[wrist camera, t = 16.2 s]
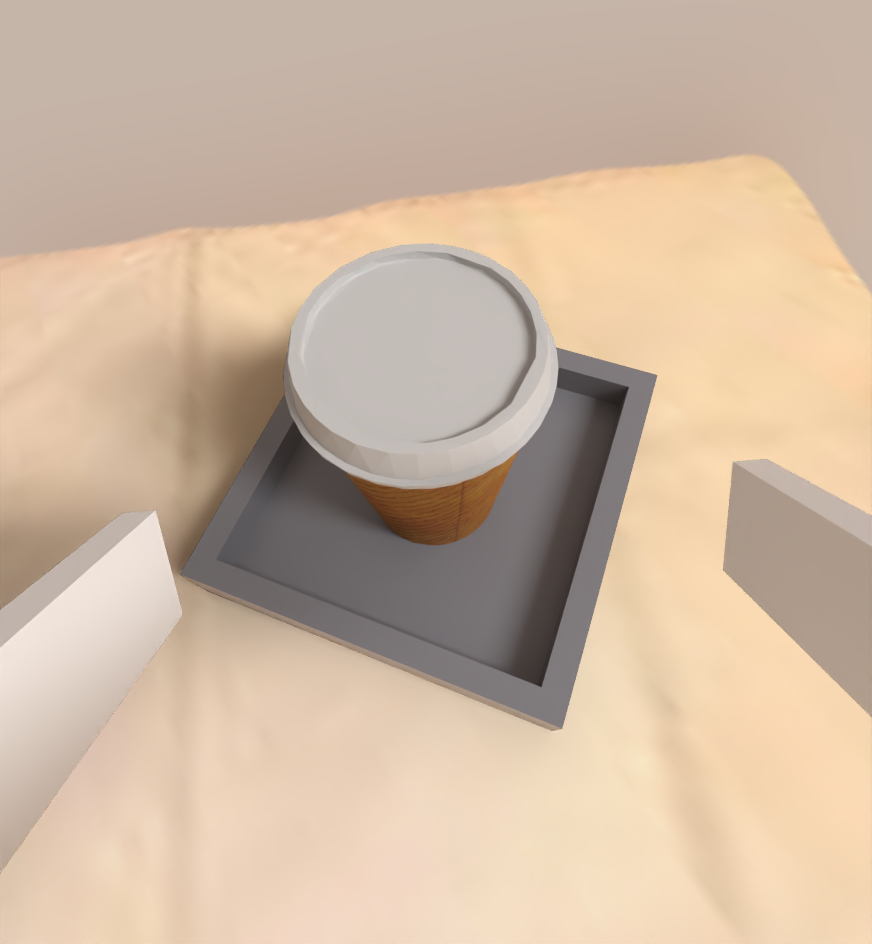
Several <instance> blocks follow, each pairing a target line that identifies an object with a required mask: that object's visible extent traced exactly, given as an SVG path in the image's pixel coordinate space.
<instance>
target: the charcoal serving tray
mask: <svg viewBox="0 0 872 944" xmlns="http://www.w3.org/2000/svg"><path fill="white" fill-rule="evenodd" d="M556 350H557V359H558V377H557V386H556V390H555V394H554V398H553V401H552V404H551V406H550V408H549V410H548V412H547V414H546V416H545V418H544V420H543V422H542V423H541V425H540V427H539V428H538V430H537V431H536V432H535V433H534V435H533V436H532V437H531V438H530V440H529V441H528V442H527V443H526V444H525V445H524V446H523V447H522V448H521V449H519V451H518V453H517V455H516V457H515V459H514V461H513V463H512V466H511V468H510V470H509V472H508V474H507V476H506V478H505V481H504V483H503V485H502V487H501V489H500V491H499V493H498V496H497V498H496V500H495V502H494V504H493V507H492V509H491V511H490V513H489V515H488V517H487V518H486V519H485V521H484V522H483V524H482V525H481V526H480V527H479V528H477V529H476V530H475V531H474V532H473V533H471V534H470V535H468V536H467V537H465V538H463V539H460V540H458V541H455V542H453V543H449V544H444V545H424V544H419V543H414V542H411V541H409V540H407V539H404V538H402V537H401V536H399V535H398V534H396V533H395V532H393V531H392V530H391V529H390V528H389V527H388V526H387V525H386V523H385V522H384V521H383V519H382V518H381V516H380V515H379V514H378V513H377V512H376V510H375V509H374V508H373V507H372V505H371V504H370V503H369V501H368V500H367V499H366V498H365V496H364V495H363V494H362V493H361V491H360V490H359V489H358V488H357V486H356V485H355V484H354V482H353V481H352V480H351V479H350V478H349V476H348V475H347V474H346V472H345V471H344V470H342V469H340V468H339V467H337V466H336V465H334V464H332V463H331V462H329V461H328V460H326V459H324V458H323V457H322V456H321V455H320V454H319V453H318V452H317V451H316V450H315V449H314V448H313V447H312V446H311V445H310V444H309V443H308V441H307V440H306V439H305V438H304V437H303V436H302V434H301V432H300V430H299V429H298V427H297V425H296V423H295V421H294V420H293V418H292V416H291V414H290V411H289V407H288V404H287V401H286V398H285V395H284V397H283V398H282V400H281V402H280V404H279V405H278V407H277V409H276V410H275V412H274V414H273V416H272V417H271V419H270V421H269V422H268V424H267V426H266V428H265V429H264V431H263V433H262V434H261V436H260V438H259V440H258V441H257V443H256V445H255V446H254V448H253V450H252V452H251V453H250V455H249V457H248V458H247V460H246V462H245V464H244V465H243V467H242V469H241V471H240V472H239V474H238V476H237V477H236V479H235V481H234V483H233V484H232V486H231V488H230V489H229V491H228V493H227V495H226V496H225V498H224V500H223V501H222V503H221V505H220V507H219V508H218V510H217V512H216V513H215V515H214V517H213V519H212V520H211V522H210V524H209V525H208V527H207V529H206V531H205V532H204V534H203V536H202V537H201V539H200V541H199V543H198V544H197V546H196V548H195V549H194V551H193V553H192V555H191V556H190V558H189V560H188V561H187V563H186V565H185V567H184V568H183V570H182V572H181V573H180V574H181V575H182V576H184V577H185V578H187V579H189V580H190V581H192V582H194V583H195V584H197V585H198V586H200V587H202V588H203V589H205V590H207V591H209V592H212V593H214V594H217V595H219V596H221V597H224V598H226V599H229V600H231V601H234V602H236V603H239V604H241V605H244V606H246V607H249V608H251V609H253V610H256V611H258V612H261V613H263V614H266V615H268V616H271V617H273V618H276V619H278V620H281V621H283V622H285V623H288V624H290V625H293V626H295V627H298V628H300V629H303V630H305V631H308V632H310V633H313V634H315V635H317V636H320V637H322V638H325V639H327V640H330V641H332V642H335V643H337V644H340V645H342V646H345V647H347V648H349V649H352V650H354V651H357V652H359V653H362V654H364V655H367V656H369V657H372V658H374V659H376V660H379V661H381V662H384V663H386V664H389V665H391V666H394V667H396V668H399V669H401V670H404V671H406V672H408V673H411V674H413V675H416V676H418V677H421V678H423V679H426V680H428V681H431V682H433V683H436V684H438V685H440V686H443V687H445V688H448V689H450V690H453V691H455V692H458V693H460V694H463V695H465V696H468V697H470V698H472V699H475V700H477V701H480V702H482V703H485V704H487V705H490V706H492V707H495V708H497V709H500V710H502V711H504V712H507V713H509V714H512V715H514V716H517V717H519V718H522V719H524V720H527V721H529V722H532V723H534V724H536V725H539V726H541V727H544V728H546V729H549V730H551V731H553V730H558V729H562V727H563V724H564V720H565V716H566V712H567V709H568V705H569V701H570V698H571V694H572V690H573V686H574V683H575V679H576V675H577V672H578V668H579V664H580V660H581V657H582V653H583V649H584V646H585V642H586V638H587V634H588V631H589V627H590V623H591V620H592V616H593V612H594V608H595V605H596V601H597V597H598V594H599V590H600V586H601V582H602V579H603V575H604V571H605V568H606V564H607V560H608V556H609V553H610V549H611V545H612V542H613V538H614V534H615V530H616V527H617V523H618V519H619V516H620V512H621V508H622V504H623V501H624V497H625V493H626V490H627V486H628V482H629V478H630V475H631V471H632V467H633V464H634V460H635V456H636V452H637V449H638V445H639V441H640V438H641V434H642V430H643V426H644V423H645V419H646V415H647V412H648V408H649V404H650V400H651V397H652V393H653V389H654V386H655V382H656V378H657V375H655V374H651V373H648V372H644V371H640V370H637V369H633V368H629V367H626V366H622V365H618V364H615V363H611V362H607V361H604V360H600V359H596V358H593V357H589V356H585V355H581V354H578V353H574V352H570V351H567V350H563V349H559V348H556Z"/></svg>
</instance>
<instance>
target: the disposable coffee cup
mask: <svg viewBox="0 0 872 944" xmlns="http://www.w3.org/2000/svg"><path fill="white" fill-rule="evenodd" d="M557 377H558V359H557V350H556V346H555V342H554V339H553V337H552V334H551V331H550V329H549V326H548V324H547V323H546V321H545V319H544V316H543V313H542V311H541V309H540V307H539V304H538V302H537V300H536V299H535V297H534V296H533V294H532V293H531V292H530V290H529V289H528V287H527V286H526V285H525V284H524V283H523V282H522V281H521V280H520V279H519V278H518V277H517V276H516V275H515V274H514V273H513V272H512V271H510V270H508V269H507V268H505V267H503V266H502V265H500V264H498V263H497V262H495V261H494V260H492V259H490V258H488V257H486V256H483V255H481V254H478V253H476V252H473V251H471V250H467V249H463V248H459V247H454V246H446V245H439V244H412V245H400V246H396V247H392V248H387V249H383V250H379V251H375V252H371V253H369V254H367V255H365V256H363V257H361V258H359V259H356V260H354V261H352V262H350V263H348V264H346V265H344V266H342V267H340V268H339V269H338V270H336V271H335V272H334V273H333V274H332V275H330V276H329V277H328V278H327V279H326V280H324V281H323V282H322V283H321V284H319V285H318V286H317V287H316V288H315V289H314V290H313V292H312V293H311V294H310V296H309V297H308V298H307V300H306V301H305V303H304V304H303V305H302V307H301V308H300V310H299V312H298V314H297V317H296V319H295V321H294V324H293V326H292V328H291V333H290V339H289V345H288V352H287V355H286V361H285V369H284V376H283V379H284V389H285V398H286V401H287V404H288V407H289V411H290V414H291V416H292V418H293V420H294V421H295V423H296V425H297V427H298V429H299V430H300V432H301V434H302V436H303V437H304V438H305V439H306V440H307V441H308V443H309V444H310V445H311V446H312V447H313V448H314V449H315V450H316V451H317V452H318V453H319V454H320V455H321V456H322V457H323V458H324V459H326V460H328V461H329V462H331V463H332V464H334V465H336V466H337V467H339V468H340V469H342V470H344V471H345V472H346V474H347V475H348V476H349V478H350V479H351V480H352V481H353V482H354V484H355V485H356V486H357V488H358V489H359V490H360V491H361V493H362V494H363V495H364V496H365V498H366V499H367V500H368V501H369V503H370V504H371V505H372V507H373V508H374V509H375V510H376V512H377V513H378V514H379V515H380V516H381V518H382V519H383V521H384V522H385V523H386V525H387V526H388V527H389V528H390V529H391V530H392V531H393V532H395V533H396V534H398V535H399V536H401V537H402V538H404V539H407V540H409V541H411V542H414V543H419V544H424V545H444V544H449V543H453V542H455V541H458V540H460V539H463V538H465V537H467V536H468V535H470V534H471V533H473V532H474V531H475V530H476V529H477V528H479V527H480V526H481V525H482V524H483V522H484V521H485V519H486V518H487V517H488V515H489V513H490V511H491V509H492V507H493V504H494V502H495V500H496V498H497V496H498V493H499V491H500V489H501V487H502V485H503V483H504V481H505V478H506V476H507V474H508V472H509V470H510V468H511V466H512V463H513V461H514V459H515V457H516V455H517V453H518V451H519V449H521V448H522V447H523V446H524V445H525V444H526V443H527V442H528V441H529V440H530V438H531V437H532V436H533V435H534V433H535V432H536V431H537V430H538V428H539V427H540V425H541V423H542V422H543V420H544V418H545V416H546V414H547V412H548V410H549V408H550V406H551V404H552V401H553V398H554V394H555V390H556V386H557Z"/></svg>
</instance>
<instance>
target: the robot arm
mask: <svg viewBox="0 0 872 944" xmlns="http://www.w3.org/2000/svg"><path fill="white" fill-rule="evenodd" d="M723 571H724V572H725V573H726V574H727V575H729V576H730V577H731V578H732V579H733V580H734V581H735V582H736V583H737V584H738V585H739V586H740V587H741V588H742V589H743V590H744V591H745V592H746V593H747V594H748V595H749V596H750V597H751V598H752V599H753V600H754V601H755V602H756V603H757V604H758V605H759V606H760V607H761V608H762V609H763V610H764V611H765V612H766V613H767V614H768V615H769V616H770V617H771V618H772V619H773V620H774V621H775V622H776V623H777V624H778V625H779V626H780V627H781V628H782V629H783V630H784V631H785V632H786V633H787V634H788V635H789V636H790V637H791V638H792V639H793V640H794V641H795V642H796V643H797V644H798V645H799V646H800V647H801V648H802V649H803V650H804V651H805V652H806V653H807V654H808V655H809V656H810V657H811V658H812V659H813V660H814V661H815V662H816V663H817V664H818V665H819V666H820V667H821V668H822V669H823V670H824V671H825V672H826V673H827V674H828V675H829V676H830V677H831V678H832V679H833V680H834V681H836V682H837V683H838V684H839V685H840V686H841V687H842V688H843V689H844V690H845V691H846V692H847V693H848V694H849V695H850V696H851V697H852V698H853V699H854V700H855V701H856V702H857V703H858V704H859V705H860V706H861V707H862V708H863V709H864V710H865V711H866V712H867V713H868V714H869V715H870V716H871V717H872V516H871V515H870V514H868V513H866V512H864V511H862V510H860V509H859V508H857V507H855V506H853V505H851V504H849V503H847V502H846V501H844V500H842V499H840V498H838V497H836V496H834V495H833V494H831V493H829V492H827V491H825V490H823V489H822V488H820V487H818V486H816V485H814V484H812V483H810V482H809V481H807V480H805V479H803V478H801V477H799V476H797V475H796V474H794V473H792V472H790V471H788V470H786V469H785V468H783V467H781V466H779V465H777V464H775V463H773V462H772V461H770V460H768V459H760V460H748V461H737V462H733V466H732V477H731V488H730V499H729V510H728V521H727V531H726V542H725V553H724V564H723ZM182 615H183V613H182V609H181V605H180V601H179V598H178V594H177V590H176V586H175V582H174V578H173V575H172V571H171V567H170V563H169V559H168V556H167V552H166V548H165V544H164V540H163V537H162V533H161V529H160V525H159V521H158V517H157V514H156V510H152V511H140V512H129V513H122V514H120V515H119V516H118V517H117V518H115V519H114V520H113V521H112V522H110V523H109V524H108V525H107V526H105V527H104V528H103V529H101V530H100V531H99V532H98V533H96V534H95V535H94V536H93V537H91V538H90V539H89V540H88V541H86V542H85V543H84V544H83V545H81V546H80V547H79V548H78V549H76V550H75V551H74V552H73V553H71V554H70V555H69V556H68V557H66V558H65V559H64V560H63V561H61V562H60V563H59V564H57V565H56V566H55V567H54V568H52V569H51V570H50V571H49V572H47V573H46V574H45V575H44V576H42V577H41V578H40V579H39V580H37V581H36V582H35V583H34V584H32V585H31V586H30V587H29V588H27V589H26V590H25V591H24V592H22V593H21V594H20V595H19V596H17V597H16V598H15V599H13V600H12V601H11V602H10V603H8V604H7V605H6V606H5V607H3V608H2V609H1V610H0V873H1V872H2V870H3V869H4V868H5V866H6V865H7V863H8V862H9V861H10V859H11V858H12V856H13V855H14V853H15V852H16V851H17V849H18V848H19V846H20V845H21V844H22V842H23V841H24V839H25V838H26V836H27V835H28V834H29V832H30V831H31V829H32V828H33V827H34V825H35V824H36V822H37V821H38V819H39V818H40V817H41V815H42V814H43V812H44V811H45V809H46V808H47V807H48V805H49V804H50V802H51V801H52V800H53V798H54V797H55V795H56V794H57V792H58V791H59V790H60V788H61V787H62V785H63V784H64V783H65V781H66V780H67V778H68V777H69V775H70V774H71V773H72V771H73V770H74V768H75V767H76V766H77V764H78V763H79V761H80V760H81V758H82V757H83V756H84V754H85V753H86V751H87V750H88V749H89V747H90V746H91V744H92V743H93V741H94V740H95V739H96V737H97V736H98V734H99V733H100V731H101V730H102V729H103V727H104V726H105V724H106V723H107V722H108V720H109V719H110V717H111V716H112V714H113V713H114V712H115V710H116V709H117V707H118V706H119V705H120V703H121V702H122V700H123V699H124V697H125V696H126V695H127V693H128V692H129V690H130V689H131V688H132V686H133V685H134V683H135V682H136V680H137V679H138V678H139V676H140V675H141V673H142V672H143V670H144V669H145V668H146V666H147V665H148V663H149V662H150V661H151V659H152V658H153V656H154V655H155V653H156V652H157V651H158V649H159V648H160V646H161V645H162V644H163V642H164V641H165V639H166V638H167V636H168V635H169V634H170V632H171V631H172V629H173V628H174V627H175V625H176V624H177V622H178V621H179V619H180V618H181V617H182Z"/></svg>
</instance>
